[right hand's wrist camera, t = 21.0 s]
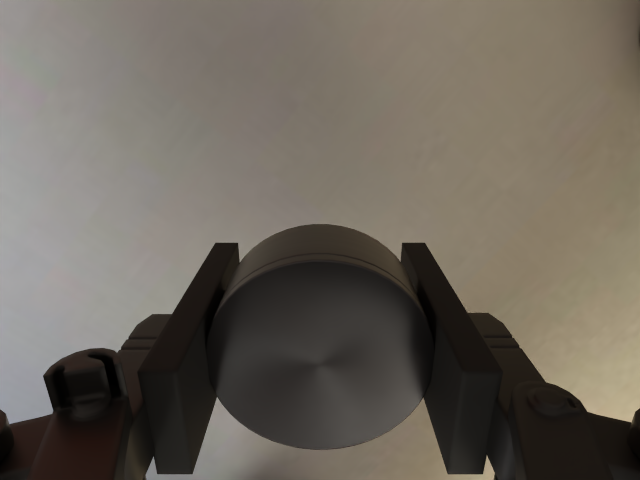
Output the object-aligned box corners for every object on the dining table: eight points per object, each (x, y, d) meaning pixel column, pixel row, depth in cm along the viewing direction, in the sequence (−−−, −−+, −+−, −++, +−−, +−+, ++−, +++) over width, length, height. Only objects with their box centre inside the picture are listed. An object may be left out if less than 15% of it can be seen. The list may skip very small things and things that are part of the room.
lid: (449, 335, 13) (475, 390, 11) (296, 414, 14) (292, 479, 12) (350, 184, 11) (357, 213, 9) (186, 289, 12) (156, 336, 10)
